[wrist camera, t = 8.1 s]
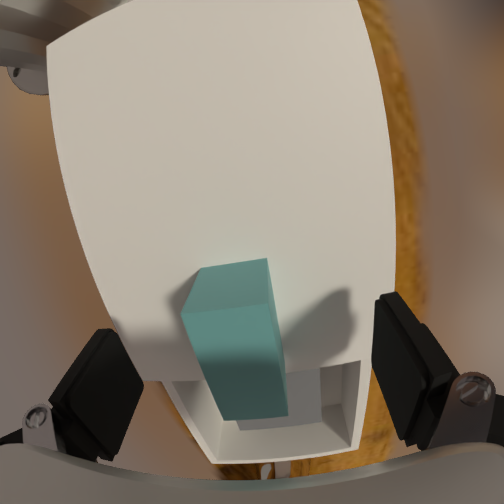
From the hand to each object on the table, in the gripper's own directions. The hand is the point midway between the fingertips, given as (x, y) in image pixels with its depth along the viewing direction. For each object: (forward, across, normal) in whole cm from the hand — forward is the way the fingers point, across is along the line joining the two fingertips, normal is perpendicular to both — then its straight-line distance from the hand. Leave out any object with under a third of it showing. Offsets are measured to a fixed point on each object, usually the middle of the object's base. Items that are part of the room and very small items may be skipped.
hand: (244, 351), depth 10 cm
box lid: (+2, 0, -5) cm, 5 cm away
